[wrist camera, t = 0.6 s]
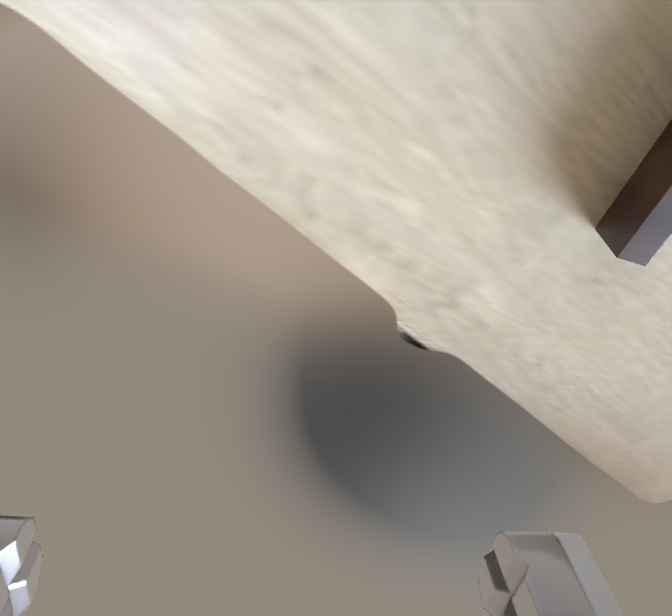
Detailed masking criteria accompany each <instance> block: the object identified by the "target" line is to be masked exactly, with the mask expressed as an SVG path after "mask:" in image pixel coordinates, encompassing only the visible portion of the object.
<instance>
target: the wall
mask: <svg viewBox="0 0 672 616" xmlns="http://www.w3.org/2000/svg"><path fill="white" fill-rule="evenodd" d="M595 230H596V231H597V232H598V234H599V235H600V236H601V238H602V239H603V240H604V241H605V243H606V244H607V245H608V247H609V248H610V249H611V251H612V252H613V253H614V255H615V256H616V257H617V258H620V259H624V260H627V261H630V262H633V263H637V264H640V265H643V266H646V265H647V264H648V263H649V261H650V260H651V259H652V258H653V256H654V255H655V254H656V253H657V251H658V250H659V249H660V248H661V246H662V245H663V244H664V243H665V242H666V240H667V239H668V238H669V237H670V235H671V234H672V120H671V121H670V123H669V124H668V126H667V127H666V128H665V130H664V131H663V133H662V134H661V136H660V137H659V138H658V140H657V141H656V143H655V144H654V146H653V147H652V148H651V150H650V151H649V153H648V154H647V156H646V157H645V158H644V160H643V161H642V163H641V164H640V166H639V167H638V168H637V170H636V171H635V173H634V174H633V175H632V177H631V178H630V180H629V181H628V183H627V184H626V185H625V187H624V188H623V190H622V191H621V193H620V194H619V195H618V197H617V198H616V200H615V201H614V203H613V204H612V205H611V207H610V208H609V210H608V211H607V213H606V214H605V215H604V217H603V218H602V220H601V221H600V222H599V224H598V225H597V227H596V228H595Z"/></svg>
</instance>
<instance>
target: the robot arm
mask: <svg viewBox="0 0 672 616" xmlns="http://www.w3.org/2000/svg"><path fill="white" fill-rule="evenodd" d="M36 532H37V526H36V522H35V519H34V517H25V516H2V515H0V616H19V615H20V614H21V613H23V612H24V611H25V610H26V609H27V608H28V607H29V606H30V605H31V603H32V601H33V598H34V595H35V593H36V590H37V588H38V584H39V579H40V575H41V571H42V558H43V555H42V549H41V546H40V545H39V544H38V543H36V542H35V541H34V540H33V539H34V536H35V534H36ZM492 546H493V548H494V550H493V551H492V552H490V553H489V554H487V555H486V556H484V558H483V560H482V562H481V565H480V567H479V578H478V584H479V591H480V596H481V600H482V603H483V606H484V609H485V610H486V611H487V612H488V613H489V614H490V615H491V616H623V614H622V612H621V610H620V608H619V606H618V605H617V603H616V601H615V599H614V597H613V596H612V593H611V591H610V589H609V588H608V586H607V584H606V582H605V580H604V578H603V576H602V575H601V572H600V571H599V569H598V567H597V565H596V563H595V561H594V559H593V557H592V556H591V554H590V552H589V550H588V548H587V546H586V544H585V542H584V541H583V539H582V538H581V537H580V536H579V535H578V534H576V533H564V532H563V533H562V532H556V533H555V532H554V533H553V532H548V531H500V532H498V533H496V534H495V536H494V538H493V540H492Z"/></svg>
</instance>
